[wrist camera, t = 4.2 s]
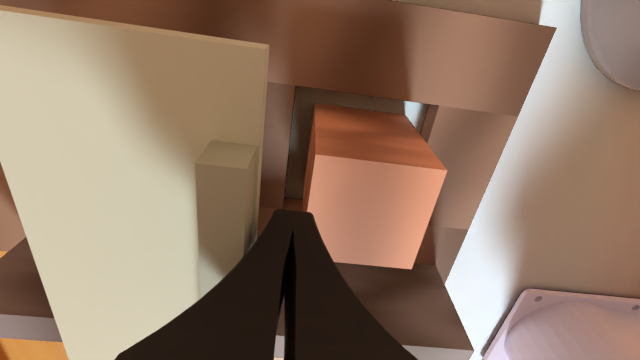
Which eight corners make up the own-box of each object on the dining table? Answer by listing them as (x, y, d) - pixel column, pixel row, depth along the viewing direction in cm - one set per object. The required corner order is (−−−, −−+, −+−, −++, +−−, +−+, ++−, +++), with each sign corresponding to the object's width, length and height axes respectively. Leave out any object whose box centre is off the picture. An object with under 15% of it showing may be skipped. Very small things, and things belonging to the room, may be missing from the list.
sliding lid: (269, 44, 9) (256, 59, 7) (249, 357, 15) (239, 411, 13) (-23, 1, 8) (-129, 3, 6) (82, 346, 14) (46, 400, 12)
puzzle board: (539, 25, 15) (685, 45, 9) (435, 276, 22) (479, 378, 16) (-113, -81, 13) (-477, -147, 7) (7, 236, 20) (-120, 336, 14)
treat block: (405, 115, 17) (447, 170, 11) (384, 192, 19) (411, 269, 14) (314, 102, 16) (315, 154, 11) (303, 183, 18) (300, 258, 13)
